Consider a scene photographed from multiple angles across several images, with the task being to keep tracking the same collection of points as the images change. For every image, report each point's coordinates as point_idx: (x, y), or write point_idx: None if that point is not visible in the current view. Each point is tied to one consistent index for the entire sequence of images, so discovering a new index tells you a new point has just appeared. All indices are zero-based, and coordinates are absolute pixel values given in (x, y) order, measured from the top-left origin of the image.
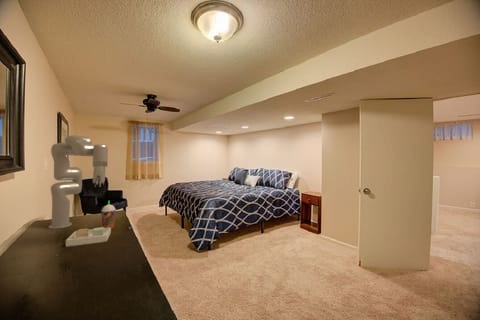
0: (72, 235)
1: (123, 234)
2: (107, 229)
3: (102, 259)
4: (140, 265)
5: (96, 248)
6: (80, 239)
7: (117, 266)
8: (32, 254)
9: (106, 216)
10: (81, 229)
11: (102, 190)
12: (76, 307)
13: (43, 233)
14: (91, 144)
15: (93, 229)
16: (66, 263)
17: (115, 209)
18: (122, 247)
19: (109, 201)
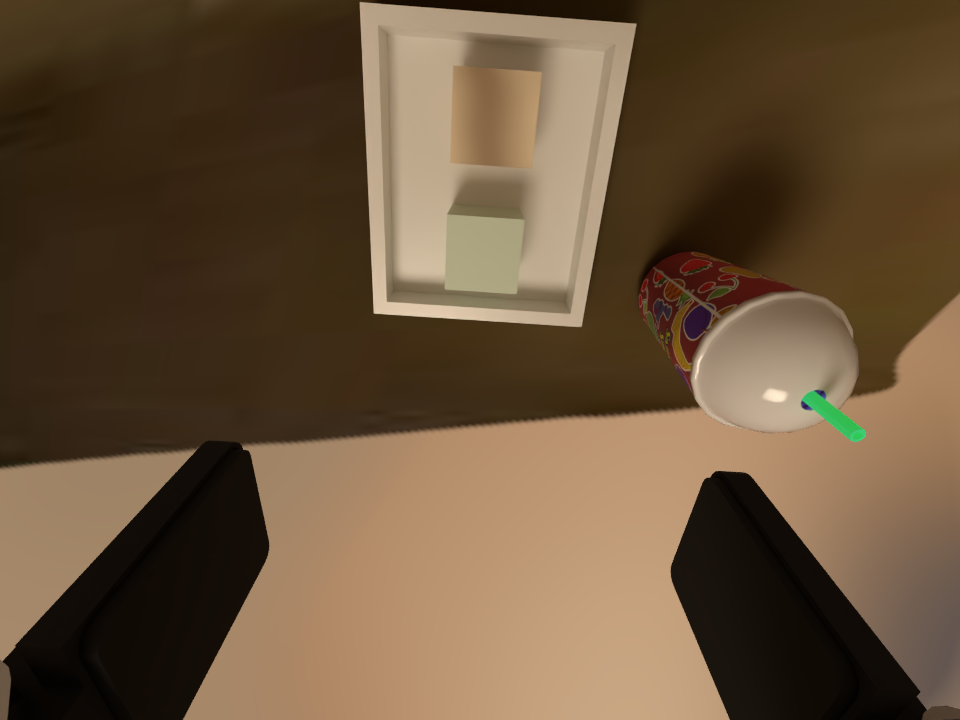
0: (492, 32)
1: (487, 386)
2: (570, 301)
3: (91, 300)
4: (10, 449)
5: (269, 251)
6: (366, 130)
7: (3, 369)
8: None
9: (678, 323)
10: (530, 104)
11: (680, 566)
12: None
13: None
14: None
15: (477, 217)
16: (53, 110)
17: (733, 426)
18: (246, 384)
19: (842, 433)
